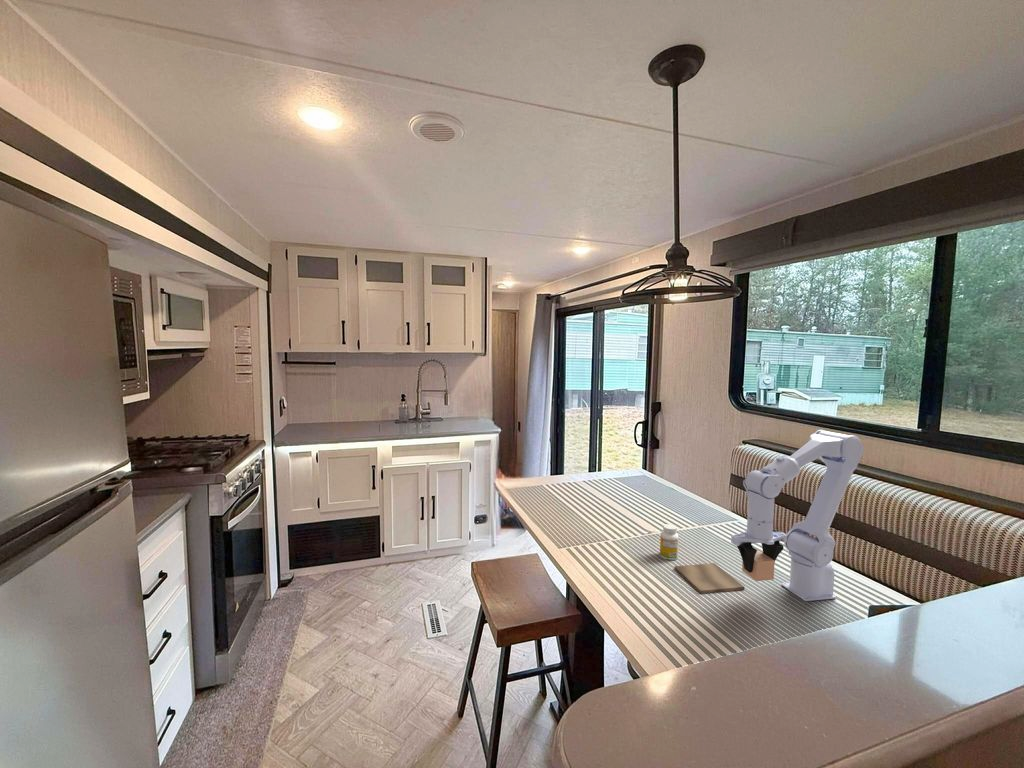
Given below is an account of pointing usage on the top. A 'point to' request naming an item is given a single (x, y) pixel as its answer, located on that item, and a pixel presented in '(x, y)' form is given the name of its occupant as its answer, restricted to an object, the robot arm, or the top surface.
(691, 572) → the walnut board
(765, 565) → the terracotta block
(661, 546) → the supplement bottle
